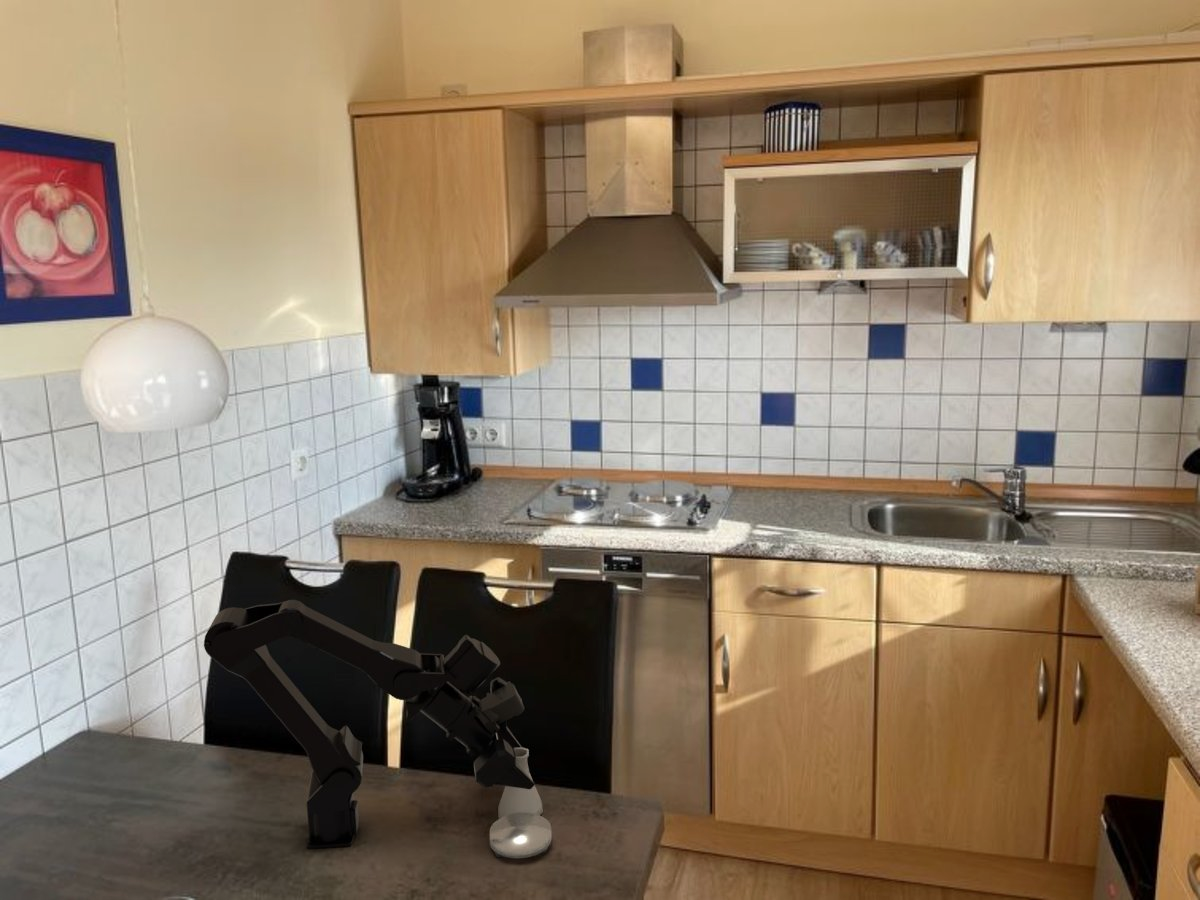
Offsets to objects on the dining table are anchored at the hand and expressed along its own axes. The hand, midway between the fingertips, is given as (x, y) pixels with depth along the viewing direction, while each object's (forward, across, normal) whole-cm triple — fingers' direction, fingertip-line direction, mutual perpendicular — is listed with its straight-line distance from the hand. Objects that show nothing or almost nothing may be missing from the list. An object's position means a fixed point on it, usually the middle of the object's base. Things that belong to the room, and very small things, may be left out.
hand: (528, 771), depth 142 cm
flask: (+4, 0, +6) cm, 7 cm away
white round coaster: (+3, -9, +6) cm, 11 cm away
